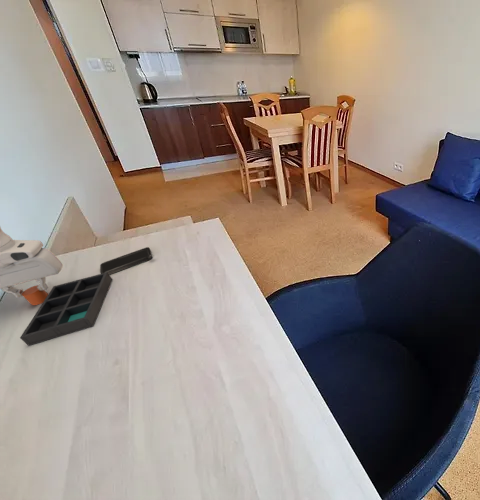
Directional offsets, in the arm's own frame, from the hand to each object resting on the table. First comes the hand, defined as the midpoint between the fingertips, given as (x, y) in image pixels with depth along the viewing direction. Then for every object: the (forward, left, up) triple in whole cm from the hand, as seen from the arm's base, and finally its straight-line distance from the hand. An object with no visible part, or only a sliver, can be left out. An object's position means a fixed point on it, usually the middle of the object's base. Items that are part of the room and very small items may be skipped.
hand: (33, 292), depth 89 cm
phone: (+22, +9, -3) cm, 24 cm away
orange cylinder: (0, 0, -3) cm, 3 cm away
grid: (+12, -10, -3) cm, 16 cm away
